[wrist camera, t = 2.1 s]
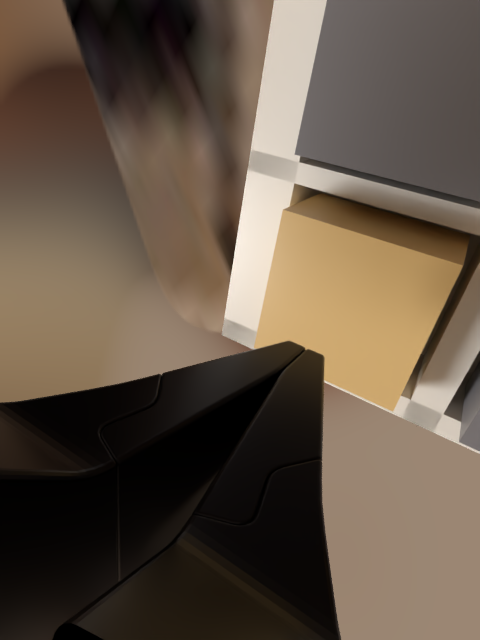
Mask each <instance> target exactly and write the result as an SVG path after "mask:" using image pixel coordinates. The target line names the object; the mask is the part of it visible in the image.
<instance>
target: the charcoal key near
mask: <svg viewBox="0 0 480 640" xmlns="http://www.w3.org/2000/svg"><path fill="white" fill-rule="evenodd" d="M294 155H298V156H302V157H306V158H310V159H314V160H317V161H321V162H325V163H329V164H333V165H337V166H341V167H345V168H349V169H353V170H357V171H361V172H365V173H369V174H372V175H376V176H380V177H384V178H388V179H392V180H396V181H400V182H404V183H408V184H412V185H416V186H420V187H424V188H427V189H431V190H435V191H439V192H443V193H447V194H451V195H455V196H459V197H463V198H467V199H471V200H475V201H479V202H480V0H327V3H326V7H325V12H324V17H323V22H322V26H321V31H320V36H319V41H318V45H317V50H316V55H315V60H314V64H313V69H312V74H311V78H310V83H309V88H308V93H307V97H306V102H305V107H304V112H303V116H302V121H301V126H300V131H299V135H298V140H297V145H296V150H295V154H294Z"/></svg>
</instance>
